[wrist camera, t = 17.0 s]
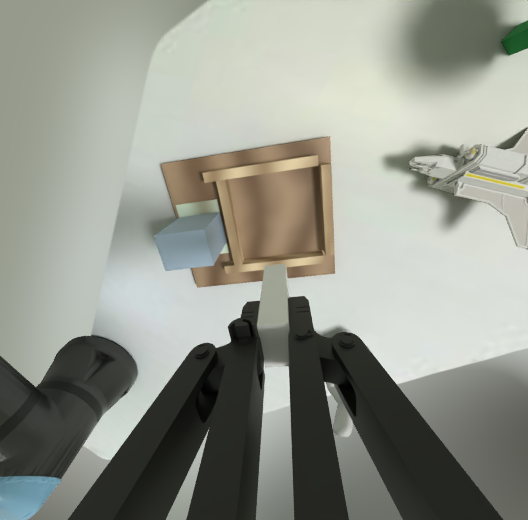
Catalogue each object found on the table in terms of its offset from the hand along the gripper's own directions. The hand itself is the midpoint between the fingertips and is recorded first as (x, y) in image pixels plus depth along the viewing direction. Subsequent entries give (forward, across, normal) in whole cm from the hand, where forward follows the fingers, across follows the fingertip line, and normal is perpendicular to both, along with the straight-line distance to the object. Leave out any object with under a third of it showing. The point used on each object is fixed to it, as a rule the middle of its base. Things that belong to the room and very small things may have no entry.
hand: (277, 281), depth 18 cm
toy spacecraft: (+12, +21, -3) cm, 24 cm away
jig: (+20, -4, 0) cm, 20 cm away
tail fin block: (+18, -11, 0) cm, 21 cm away
